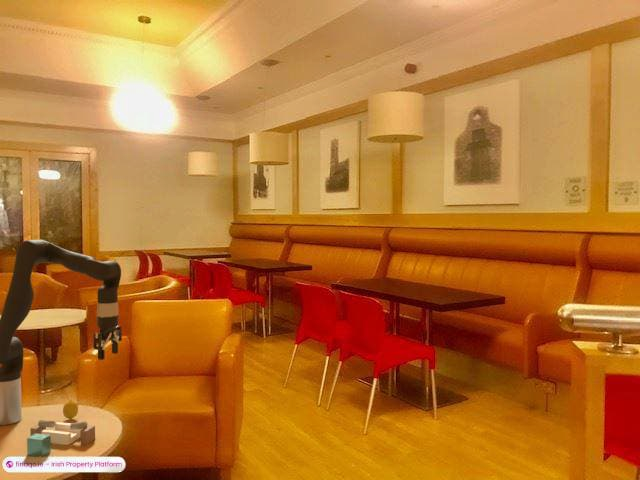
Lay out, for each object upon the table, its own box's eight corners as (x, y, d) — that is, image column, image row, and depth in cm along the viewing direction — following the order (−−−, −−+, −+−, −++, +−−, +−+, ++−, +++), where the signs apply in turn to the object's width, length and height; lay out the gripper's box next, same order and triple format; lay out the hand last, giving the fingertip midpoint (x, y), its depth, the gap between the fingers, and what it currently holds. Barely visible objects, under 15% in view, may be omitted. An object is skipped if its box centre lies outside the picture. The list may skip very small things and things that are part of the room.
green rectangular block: (27, 455, 181) (27, 438, 180) (35, 449, 185) (35, 433, 184) (42, 457, 180) (42, 439, 179) (50, 451, 183) (50, 435, 183)
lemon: (81, 417, 214) (80, 398, 213) (73, 422, 208) (73, 402, 208) (68, 416, 214) (67, 397, 214) (60, 421, 209) (59, 402, 208)
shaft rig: (26, 440, 192) (26, 420, 192) (43, 430, 201) (43, 411, 200) (83, 447, 187) (82, 427, 187) (98, 436, 196) (98, 417, 195)
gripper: (110, 310, 205) (110, 350, 206) (86, 317, 191) (87, 361, 192) (127, 311, 204) (127, 352, 205) (105, 318, 190) (105, 362, 191)
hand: (108, 356), depth 198 cm, fingers open, 8 cm apart
